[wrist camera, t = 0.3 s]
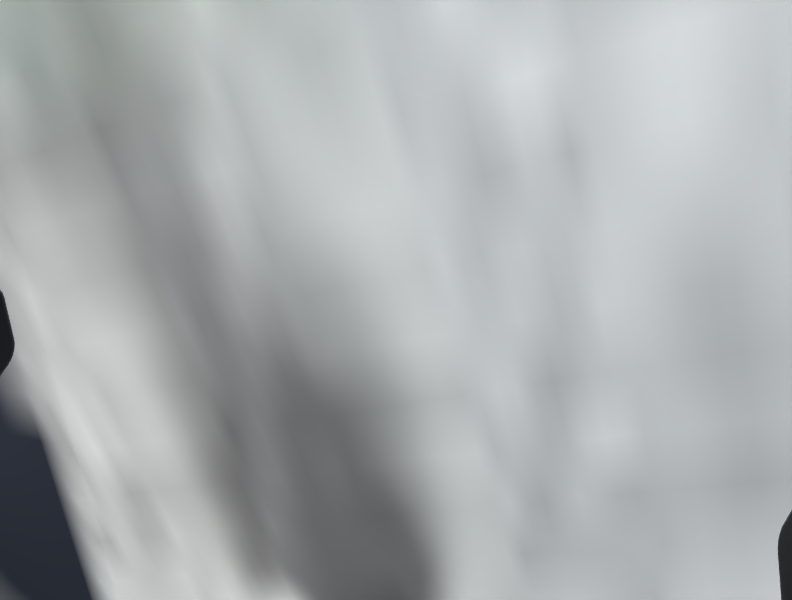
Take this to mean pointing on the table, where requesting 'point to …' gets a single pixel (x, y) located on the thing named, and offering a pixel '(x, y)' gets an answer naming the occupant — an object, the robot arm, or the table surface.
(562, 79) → the table surface
